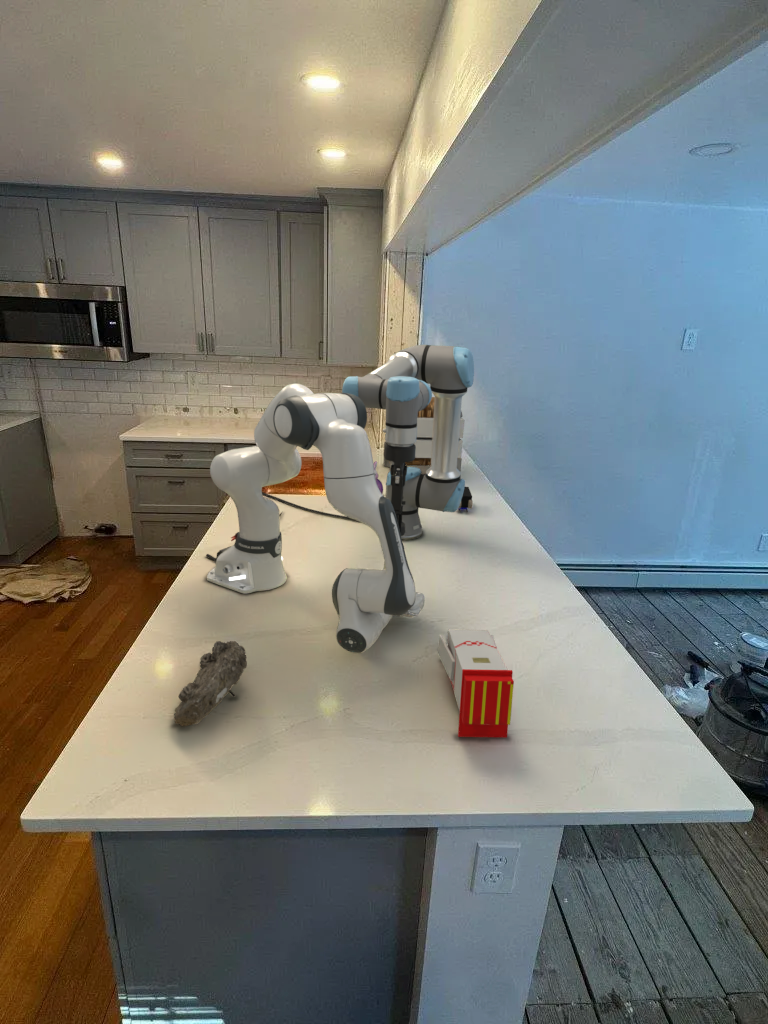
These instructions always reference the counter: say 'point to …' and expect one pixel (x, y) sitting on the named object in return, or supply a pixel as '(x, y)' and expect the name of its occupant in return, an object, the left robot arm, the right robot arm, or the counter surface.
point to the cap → (402, 528)
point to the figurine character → (466, 500)
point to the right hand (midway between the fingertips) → (395, 533)
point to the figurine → (378, 479)
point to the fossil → (211, 682)
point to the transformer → (428, 439)
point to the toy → (478, 682)
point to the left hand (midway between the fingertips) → (393, 584)
